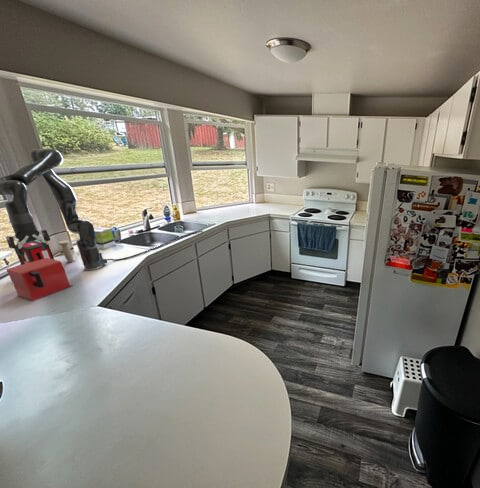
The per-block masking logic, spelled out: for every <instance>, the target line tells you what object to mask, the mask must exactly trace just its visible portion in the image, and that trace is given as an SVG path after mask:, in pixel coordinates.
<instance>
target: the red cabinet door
mask: <svg viewBox="0 0 480 488" xmlns="http://www.w3.org/2000/svg"><path fill="white" fill-rule="evenodd" d="M20 275H21V277H22V279H23V281H24V284H25V286H26V288H27V290H28V293H29V295H30V297H31V299H32V300H31V301H36V300H38V299H40V298H43V297H45V296H48V295H51V294H54V293H57V292H60V291H62V290H65V289H67V288H70V287H71V284H70V281H69V278H68V275H67V273H66V270H65V268H64V265H63V262H62V261H60V262H57V263H53V264H50V265H47V266H43V267H40V268H37V269H33V270H30V271H27V272H23V273H20Z"/></svg>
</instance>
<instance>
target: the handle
mask: <svg viewBox="0 0 480 488" xmlns="http://www.w3.org/2000/svg"><path fill="white" fill-rule="evenodd" d="M69 244H70V241H69V240H68V239H67V240H61V241H58V245H59V246H61V248H62V253H63V255H64V258H65V259H66V262H67V263H73V262H75V259H74V256H73V252H72V250H71V248H70V246H69Z"/></svg>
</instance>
